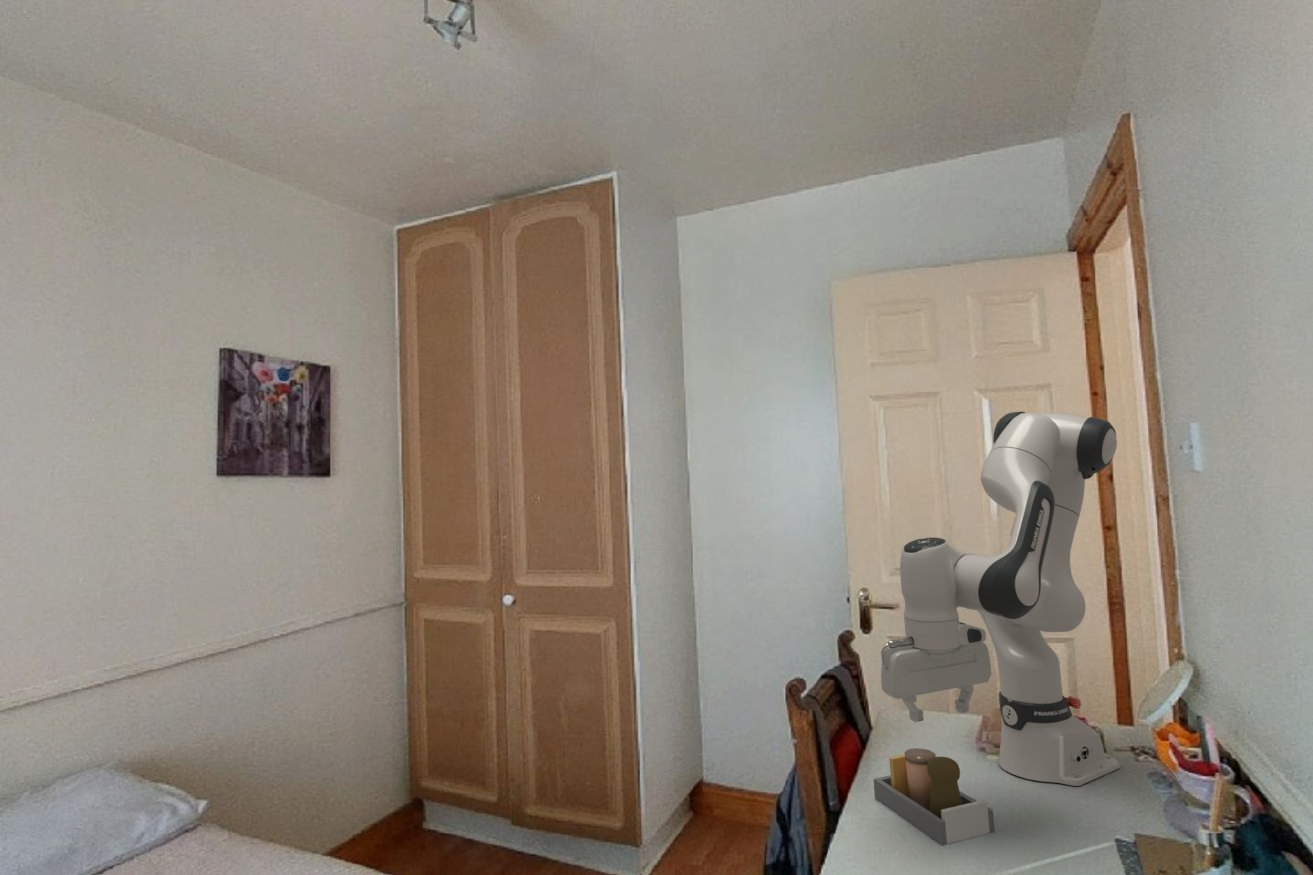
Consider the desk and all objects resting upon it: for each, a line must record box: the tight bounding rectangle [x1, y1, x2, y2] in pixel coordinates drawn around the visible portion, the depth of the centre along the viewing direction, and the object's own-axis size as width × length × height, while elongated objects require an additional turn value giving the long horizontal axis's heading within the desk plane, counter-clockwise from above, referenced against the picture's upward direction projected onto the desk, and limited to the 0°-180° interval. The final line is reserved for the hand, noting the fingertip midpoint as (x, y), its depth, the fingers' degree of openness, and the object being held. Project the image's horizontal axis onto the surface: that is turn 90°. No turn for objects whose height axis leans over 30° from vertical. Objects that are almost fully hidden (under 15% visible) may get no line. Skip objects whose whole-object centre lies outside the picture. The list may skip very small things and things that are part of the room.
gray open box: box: [873, 774, 995, 846], centre depth 121 cm, size 10×18×6 cm, turn 17°
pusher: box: [888, 753, 909, 798], centre depth 126 cm, size 8×1×8 cm, turn 107°
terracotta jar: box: [904, 747, 937, 811], centre depth 123 cm, size 5×5×10 cm
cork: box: [927, 756, 962, 819], centre depth 117 cm, size 6×6×11 cm
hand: (940, 715), depth 118 cm, fingers open, 8 cm apart
